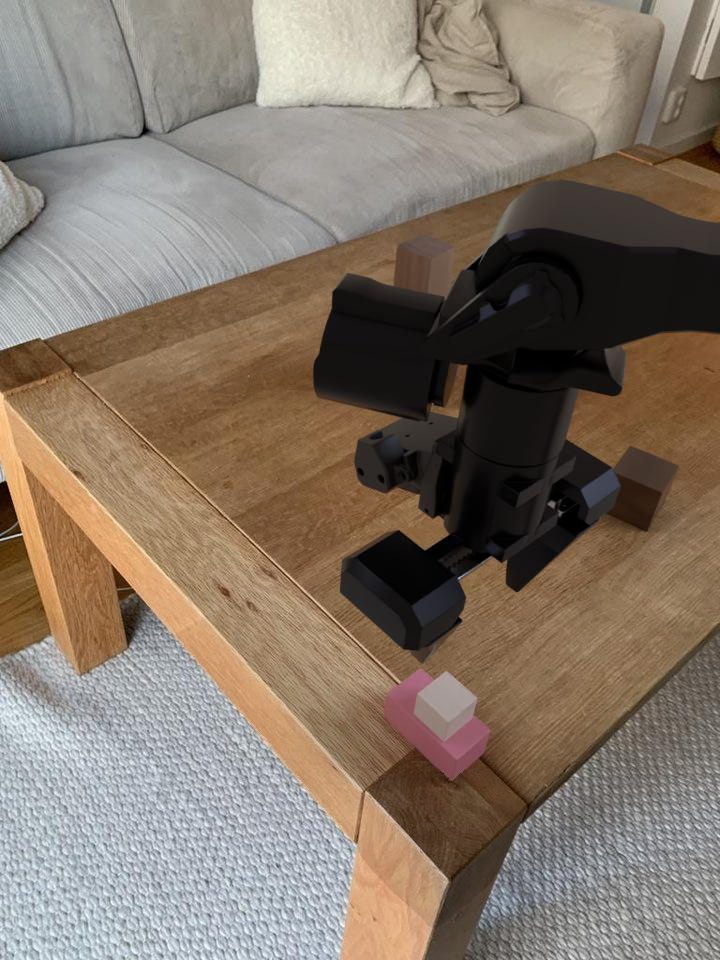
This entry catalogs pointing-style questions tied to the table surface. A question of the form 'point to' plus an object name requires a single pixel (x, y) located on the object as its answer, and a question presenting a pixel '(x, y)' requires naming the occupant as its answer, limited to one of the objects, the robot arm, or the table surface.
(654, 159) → the table surface
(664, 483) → the walnut block
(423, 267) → the wooden block
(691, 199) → the table surface
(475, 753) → the pink block with cube
